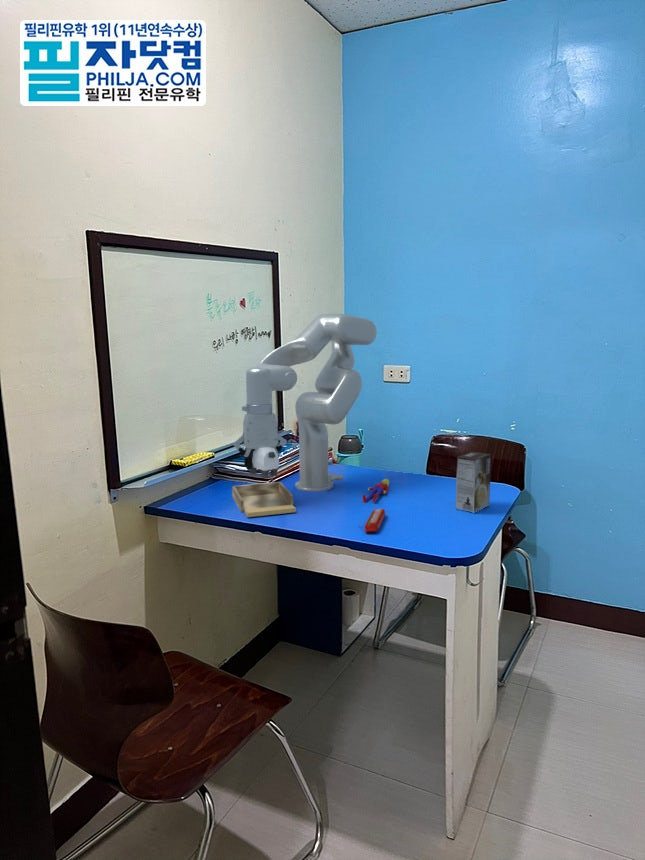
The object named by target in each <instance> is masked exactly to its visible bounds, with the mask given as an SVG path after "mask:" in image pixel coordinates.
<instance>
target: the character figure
mask: <svg viewBox="0 0 645 860" xmlns="http://www.w3.org/2000/svg"><path fill="white" fill-rule="evenodd" d="M389 486H390V480H389V479H388V478H384V479H382V480H381V482H378V483H377V484H375V485H374V486H373V487H371V486H370V487H368V488H367V490H368V491H370V493H369V494H368V495H367V496H366V494H365V493H364V494H363V495H362V503H363V502H364V503H367V502H368V501H370V500H371V498H372V497H373V498H372V502H373V503H375V502H376V500H377V499H378V498H379V496H380V495H381V494H383V495H385V494H387V493H388V492H389Z"/></svg>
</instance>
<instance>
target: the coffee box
mask: <svg viewBox="0 0 645 860" xmlns="http://www.w3.org/2000/svg"><path fill="white" fill-rule="evenodd" d="M491 463H492V454H491V453H486V452H485V453H484V452H479V451H478V452H477V451H470V452H467V453H465V454H461V455H459V456H457V457H456V479H455V480H456V481H455V483H456V487H455V489H456V490H455V509H456V508H457V509H462V510H466V511H471V512H476V511H478V510H480V509H482V508H485V507H487V506H489V507H490V499H491V498H490V497H491V492H490V491H491V473H492V472H491V471H492V470H491V469H492V468H491V467H492V464H491ZM487 508H488V507H487ZM485 509H486V508H485ZM482 510H483V509H482ZM480 511H481V510H480ZM478 512H479V511H478ZM476 513H477V512H476Z"/></svg>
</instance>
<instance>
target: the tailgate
mask: <svg viewBox="0 0 645 860" xmlns="http://www.w3.org/2000/svg"><path fill="white" fill-rule="evenodd" d="M296 512H297V508H296V507H295V506H294V504H293V505H284V506H274V507H264V508H255V509H245V512H244V515H245V516H246V517H247V518H252V517H253V518H254V517H263V516H271V515H280V514H291V513H296Z"/></svg>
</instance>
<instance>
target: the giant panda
mask: <svg viewBox="0 0 645 860" xmlns="http://www.w3.org/2000/svg"><path fill="white" fill-rule="evenodd" d="M244 449H245V446H244V447H243V450H244ZM249 457H250V470H249V471H248V474H250V475H256V474H257V472H260V473H261V475H260V477H261V478H262V479H263V478H264V479H268V478H269V476H271V477H277V476H278V472H279V471H278V470H279V467H280V466H279V465H280V460H279V453H278V454H277V453H276V451H275V449H274V448H272V447H262V448H258V449H251V451H250V453H249ZM269 471H270V473H269Z"/></svg>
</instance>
